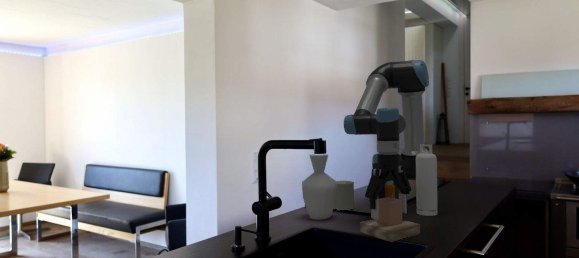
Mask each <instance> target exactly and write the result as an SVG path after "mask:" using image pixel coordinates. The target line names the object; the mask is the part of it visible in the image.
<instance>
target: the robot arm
mask: <svg viewBox="0 0 579 258" xmlns="http://www.w3.org/2000/svg"><path fill="white" fill-rule="evenodd" d="M429 85H430V78H429V71H428V67H427V64H426V62H425V60H423V59H410V60H401V61H390V62H385V63H383V64H381V65H379V66H378V67H376V68H374V70H373V71H371V73H370V74H369V75H368V76H367V79H366V82H365V89H364V91H363V93H362V95H361V98H360V101H359V102H358V105H357V107H356V109H355V110H354V113H353V114H351V113H350V114H347V115H345V116H344V119H343V129H344V133H346V134H347V135H355V136H359V135H360V136H361V135H365V136H366V135H376V152H377V153H374V154H373V155H372V158H371V159H372V160H371V161H372V162H371V167H372V168H371V174H370V175H371V176H370V178H369V182H368V184H367V188H366V190H365V193H364V194H365V195H364V197H365V198H367V199H368V201H369V209H371V211H370V215H371V216H370V217H371V219H372V220H373V219H377V220H378V219H379V200H378V199H377V197H378V195H379V193H380V191H381V189H382V188H383V186H384V184H385V183H386V182H387V181H391V180H392V181H393V185H394V186H395V199H401V200H402V214H407V213H408V212H407V205H408V195H410V194H411V192H412V187H411V184H410V182H409V181H416V156H417V155H418V154H420V145H422V144H425V136H424V135H425V133H424V113H423V112H424V110H423V109H424V107H423V94H424V93H425V92H426V88H427V87H429ZM390 89H397V93H398V95H400V96H401V107H402V108H401V109H402V114H400V110H399V108H398V107H379V104H380V102H381V99H382V97H383V94H384V93H385V92H387V90H390ZM378 107H379V108H378ZM402 133H403V146H404V148H402V150H400V134H402ZM425 149H427V148H426V147H423V150H424V151H425ZM428 151H429V150H428V149H427V152H428ZM400 153H401V154H400ZM381 178H382V179H381ZM373 195H374V196H373Z"/></svg>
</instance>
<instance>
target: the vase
mask: <svg viewBox="0 0 579 258" xmlns="http://www.w3.org/2000/svg"><path fill="white" fill-rule="evenodd" d="M316 154H317V153H316ZM316 154H313V153H312V154H309V158H310V162H311V165H312V168H313V169H312V170H313V172H312V173H311V174H310V175H308V176H307V177H306V178H305V179H304V180H303V181H301V190H302V200H303V203H304V206H305V208H306V211H307V214H308V216H309V218H310V219H311V220H319V221H320V220H326V219H327V220H328V219H329V218H331V217H332V215H333V212H334V204H335V200H336V196H337V182H336V181H337V180H335V179H334V178H332V177H331V176H330V175H329V174H327V173H326V172H325V169H326V166H327V161H328V158H329V154H325V153H322V154H323V155H316Z"/></svg>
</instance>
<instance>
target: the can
mask: <svg viewBox="0 0 579 258" xmlns="http://www.w3.org/2000/svg"><path fill="white" fill-rule="evenodd" d="M335 181H336V182H337V196H336V200H335V204H334V208H333V210H335V209H337V210H336V211H340V210H349V211H351V210H350V209H353V210H355V209H354V208H355V182H354V181H352V180H335Z"/></svg>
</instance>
